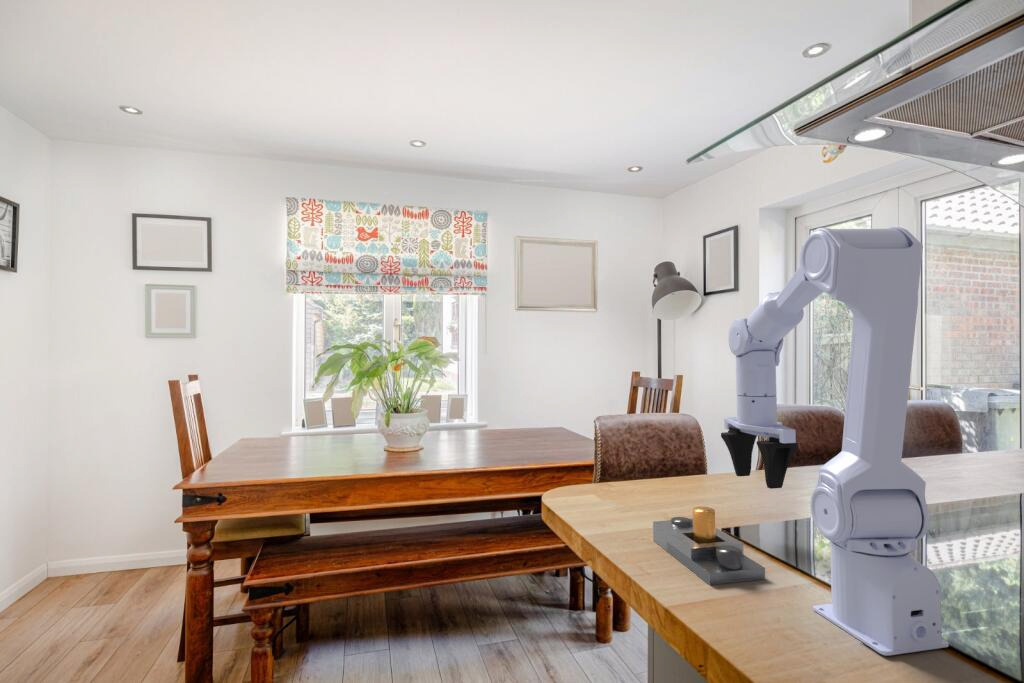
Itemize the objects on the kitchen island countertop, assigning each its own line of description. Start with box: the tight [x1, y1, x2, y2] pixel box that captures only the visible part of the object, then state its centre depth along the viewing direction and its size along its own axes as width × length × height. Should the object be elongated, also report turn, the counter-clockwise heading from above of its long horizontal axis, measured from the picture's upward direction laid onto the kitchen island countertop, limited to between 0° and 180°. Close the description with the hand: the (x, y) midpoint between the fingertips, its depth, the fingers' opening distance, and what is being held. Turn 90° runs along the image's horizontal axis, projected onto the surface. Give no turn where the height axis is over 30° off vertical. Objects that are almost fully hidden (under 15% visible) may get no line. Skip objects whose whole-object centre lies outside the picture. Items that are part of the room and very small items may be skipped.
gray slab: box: [652, 516, 766, 586], centre depth 75 cm, size 16×8×4 cm, turn 11°
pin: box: [692, 506, 716, 544], centre depth 75 cm, size 3×3×7 cm
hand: (758, 481), depth 81 cm, fingers open, 7 cm apart
